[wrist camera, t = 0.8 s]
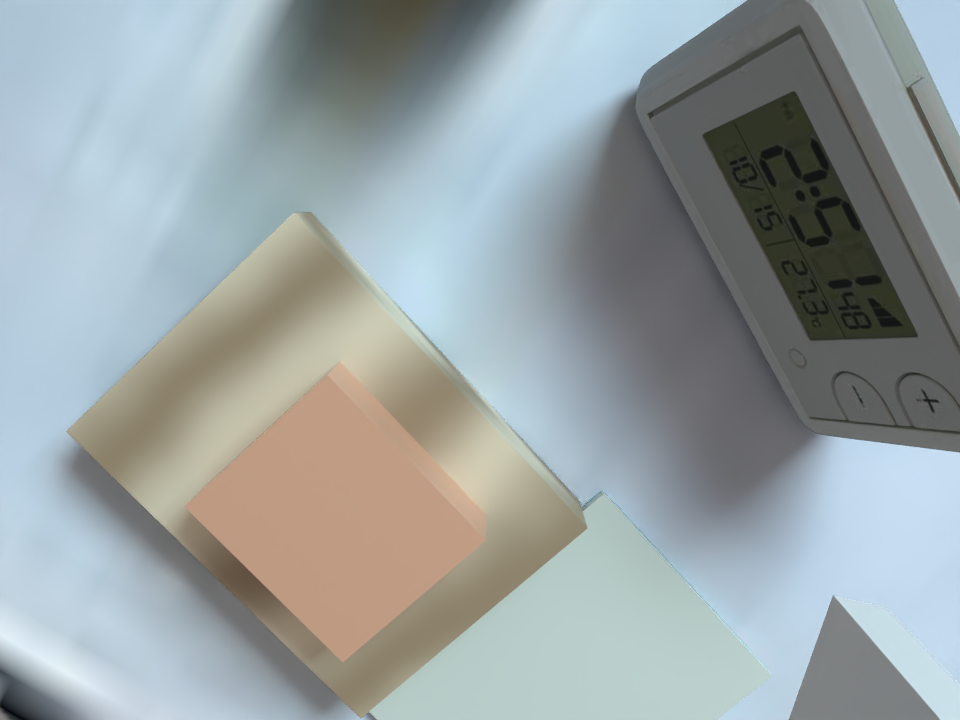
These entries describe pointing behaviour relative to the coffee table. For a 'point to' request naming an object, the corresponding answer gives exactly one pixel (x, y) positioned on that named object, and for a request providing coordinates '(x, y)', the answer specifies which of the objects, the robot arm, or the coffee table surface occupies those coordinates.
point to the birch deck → (283, 381)
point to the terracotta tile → (340, 513)
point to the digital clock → (825, 206)
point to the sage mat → (588, 643)
